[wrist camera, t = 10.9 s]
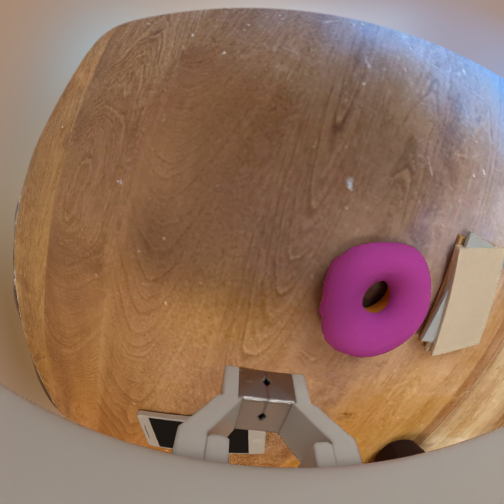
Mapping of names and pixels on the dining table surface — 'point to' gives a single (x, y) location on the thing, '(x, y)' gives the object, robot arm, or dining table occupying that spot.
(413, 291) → the donut
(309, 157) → the dining table surface
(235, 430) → the smartphone
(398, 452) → the cup
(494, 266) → the letter pile
